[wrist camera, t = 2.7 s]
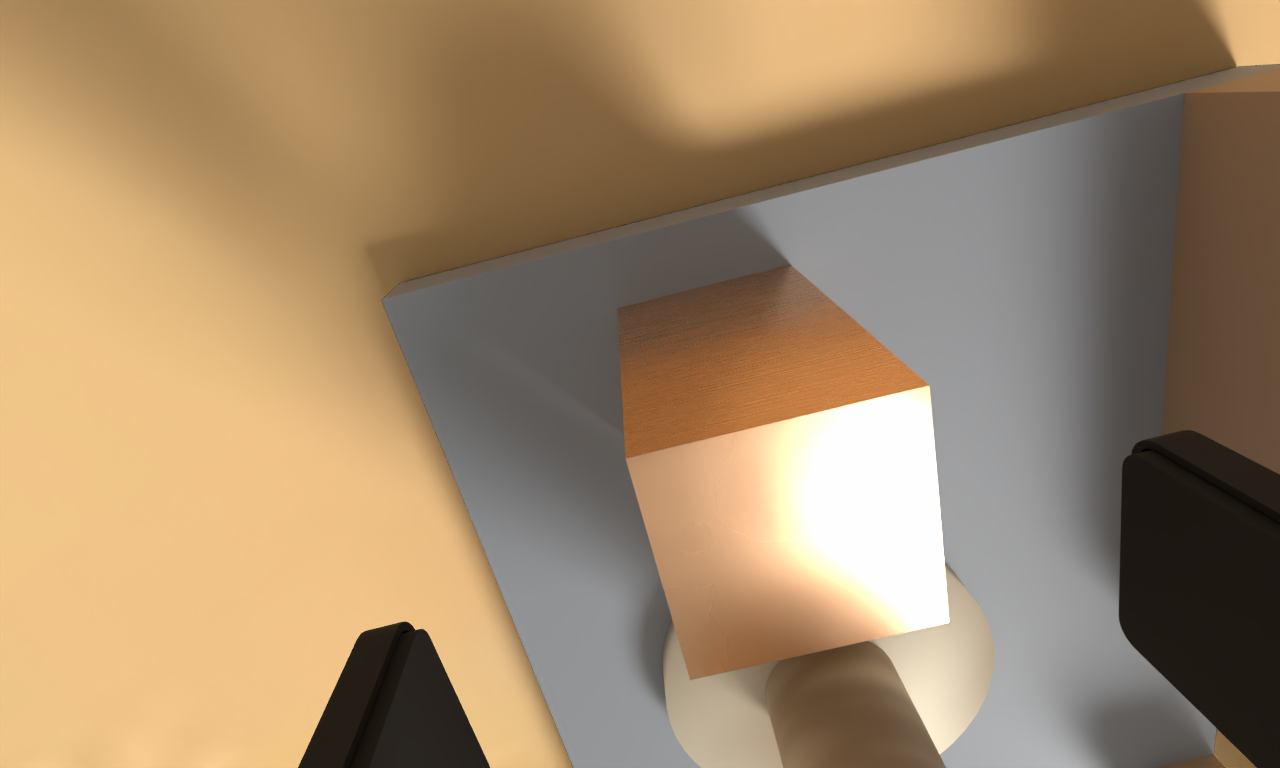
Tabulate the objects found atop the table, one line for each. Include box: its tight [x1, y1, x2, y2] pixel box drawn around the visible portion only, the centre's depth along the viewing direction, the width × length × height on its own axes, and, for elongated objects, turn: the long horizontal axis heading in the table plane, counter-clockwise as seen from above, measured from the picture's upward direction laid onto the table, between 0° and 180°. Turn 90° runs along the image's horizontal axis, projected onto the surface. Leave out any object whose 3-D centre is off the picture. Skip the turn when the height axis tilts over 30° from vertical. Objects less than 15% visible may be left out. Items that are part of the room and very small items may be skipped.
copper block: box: [617, 264, 949, 680], centre depth 13 cm, size 4×4×7 cm
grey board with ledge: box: [381, 64, 1280, 768], centre depth 17 cm, size 20×23×6 cm
